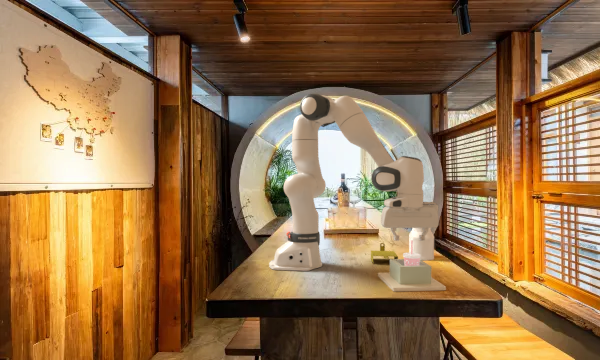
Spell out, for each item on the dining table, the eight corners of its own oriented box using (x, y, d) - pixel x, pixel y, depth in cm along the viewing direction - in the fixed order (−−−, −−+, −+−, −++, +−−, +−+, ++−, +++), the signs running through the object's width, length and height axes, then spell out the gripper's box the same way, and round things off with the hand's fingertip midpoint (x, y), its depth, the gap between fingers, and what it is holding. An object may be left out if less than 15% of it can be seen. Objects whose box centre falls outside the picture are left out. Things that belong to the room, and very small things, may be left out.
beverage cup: (401, 276, 133) (401, 238, 133) (418, 276, 133) (418, 238, 132) (404, 281, 127) (405, 241, 127) (422, 282, 126) (423, 242, 126)
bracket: (368, 249, 152) (365, 242, 167) (368, 267, 152) (365, 259, 167) (406, 250, 150) (399, 243, 165) (405, 268, 150) (399, 260, 165)
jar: (407, 254, 174) (407, 223, 174) (427, 254, 174) (427, 223, 174) (414, 260, 162) (414, 227, 162) (436, 260, 162) (436, 227, 162)
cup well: (393, 291, 120) (393, 269, 120) (377, 275, 138) (377, 257, 138) (445, 290, 121) (446, 268, 121) (423, 274, 139) (423, 256, 139)
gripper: (434, 201, 133) (433, 238, 134) (379, 200, 132) (379, 238, 132) (442, 202, 127) (441, 241, 127) (385, 202, 125) (384, 242, 126)
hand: (409, 240), depth 130 cm, fingers open, 8 cm apart
